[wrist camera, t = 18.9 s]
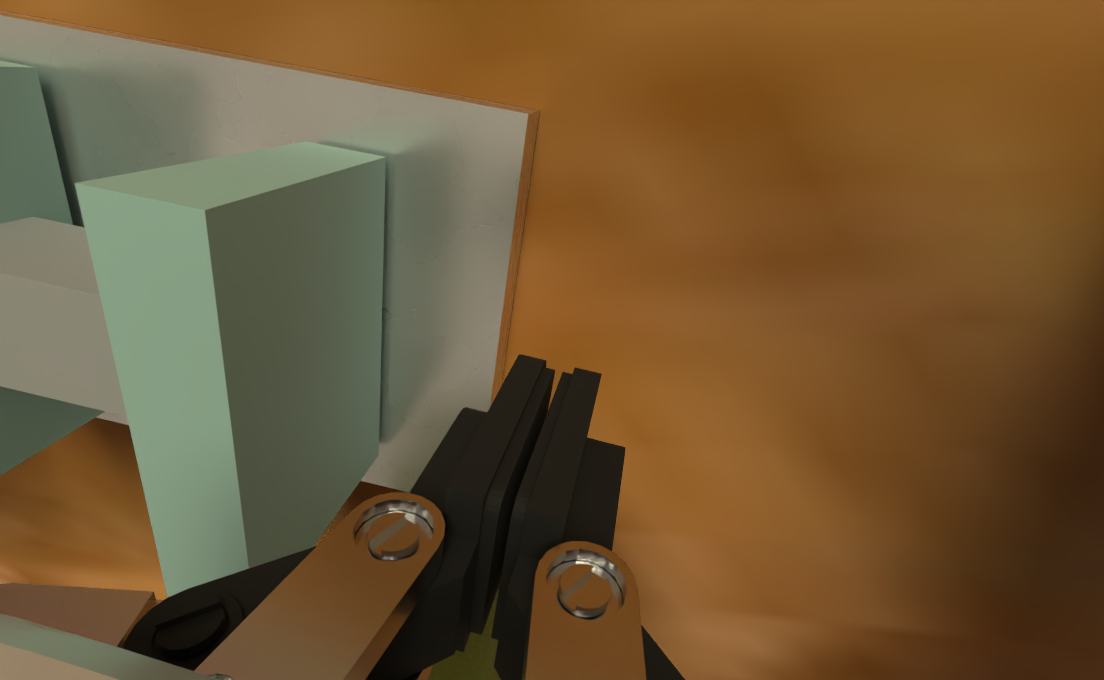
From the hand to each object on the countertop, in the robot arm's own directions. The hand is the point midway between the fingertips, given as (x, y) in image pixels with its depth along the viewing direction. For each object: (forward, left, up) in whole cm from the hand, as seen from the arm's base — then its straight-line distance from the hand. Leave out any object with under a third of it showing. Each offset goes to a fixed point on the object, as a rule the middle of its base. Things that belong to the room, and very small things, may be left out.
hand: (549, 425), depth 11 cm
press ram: (+11, +1, -4) cm, 12 cm away
